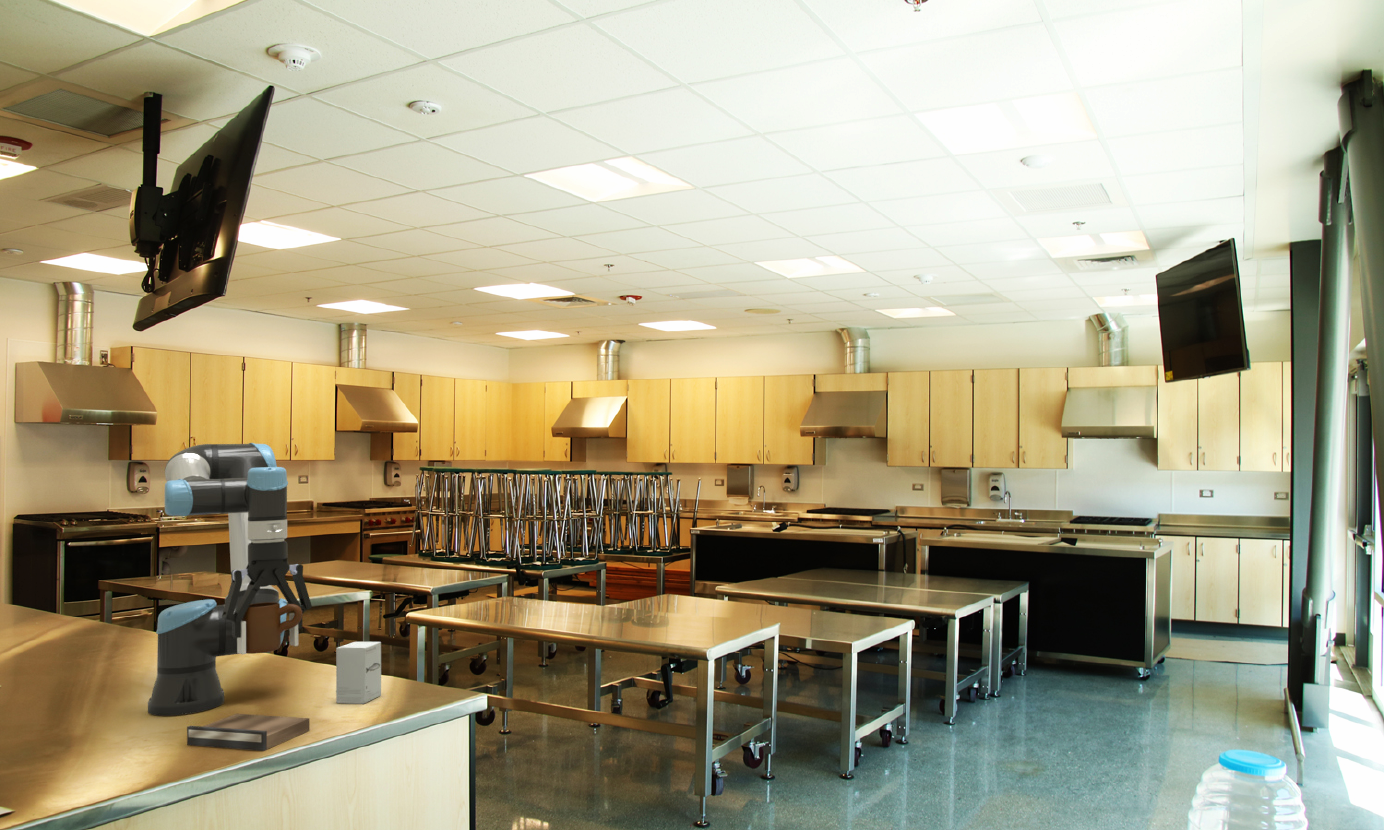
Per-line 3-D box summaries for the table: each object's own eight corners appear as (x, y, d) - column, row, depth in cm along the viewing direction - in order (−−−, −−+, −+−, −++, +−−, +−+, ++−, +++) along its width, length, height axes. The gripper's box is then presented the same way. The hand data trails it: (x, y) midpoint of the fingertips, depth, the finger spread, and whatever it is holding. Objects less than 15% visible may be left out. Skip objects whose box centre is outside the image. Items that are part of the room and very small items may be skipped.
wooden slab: (186, 745, 175) (186, 726, 175) (236, 725, 187) (236, 708, 188) (263, 750, 170) (263, 732, 170) (309, 730, 183) (309, 713, 183)
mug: (307, 644, 191) (306, 599, 191) (298, 650, 183) (297, 604, 184) (246, 648, 189) (246, 603, 189) (235, 655, 181) (234, 608, 182)
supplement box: (364, 704, 202) (364, 647, 202) (335, 703, 203) (334, 647, 204) (382, 695, 209) (382, 641, 209) (353, 694, 210) (353, 640, 211)
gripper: (216, 545, 176) (216, 660, 175) (328, 537, 192) (329, 642, 191) (203, 544, 181) (203, 656, 180) (313, 536, 197) (314, 638, 196)
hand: (268, 649), depth 185 cm, fingers closed on mug, 10 cm apart
